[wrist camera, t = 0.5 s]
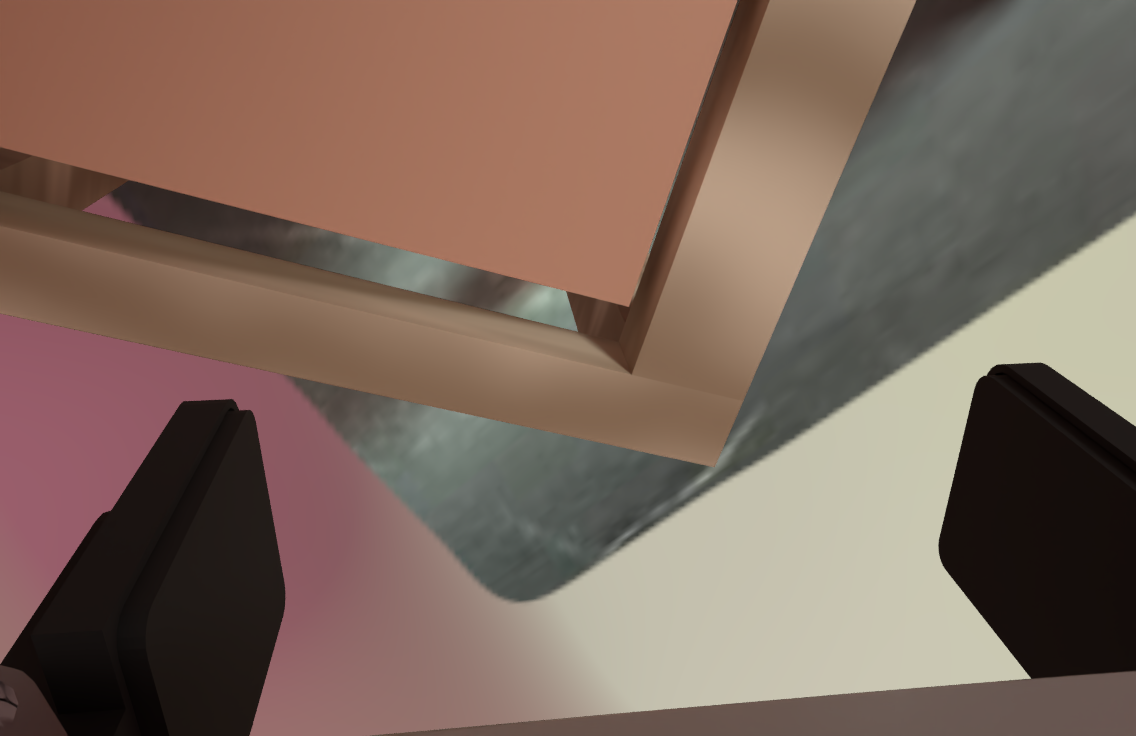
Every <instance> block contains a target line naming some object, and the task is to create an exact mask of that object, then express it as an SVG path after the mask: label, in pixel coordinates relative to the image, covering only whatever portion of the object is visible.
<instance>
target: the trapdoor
mask: <svg viewBox="0 0 1136 736" xmlns="http://www.w3.org/2000/svg"><path fill="white" fill-rule="evenodd" d="M736 3H737V0H0V147H2V148H6V149H10V150H14V151H18V152H21V153H25V154H29V155H33V156H37V157H41V158H45V159H49V160H53V161H57V162H61V163H65V164H69V165H73V166H77V167H80V168H84V169H88V170H92V171H96V172H100V173H104V174H108V175H112V176H116V177H120V178H124V179H128V180H132V181H136V182H139V183H143V184H147V185H151V186H155V187H159V188H163V189H167V190H171V191H175V192H179V193H183V194H187V195H191V196H195V197H198V198H202V199H206V200H210V201H214V202H218V203H222V204H226V205H230V206H234V207H238V208H242V209H246V210H250V211H254V212H258V213H261V214H265V215H269V216H273V217H277V218H281V219H285V220H289V221H293V222H297V223H301V224H305V225H309V226H313V227H317V228H320V229H324V230H328V231H332V232H336V233H340V234H344V235H348V236H352V237H356V238H360V239H364V240H368V241H372V242H376V243H379V244H383V245H387V246H391V247H395V248H399V249H403V250H407V251H411V252H415V253H419V254H423V255H427V256H431V257H435V258H438V259H442V260H446V261H450V262H454V263H458V264H462V265H466V266H470V267H474V268H478V269H482V270H486V271H490V272H494V273H498V274H501V275H505V276H509V277H513V278H517V279H521V280H525V281H529V282H533V283H537V284H541V285H545V286H549V287H553V288H557V289H560V290H564V291H568V292H572V293H576V294H580V295H584V296H588V297H592V298H596V299H600V300H604V301H608V302H612V303H616V304H619V305H623V306H627V307H629V305H630V302H631V299H632V296H633V294H634V291H635V288H636V285H637V282H638V279H639V277H640V274H641V271H642V268H643V265H644V263H645V260H646V257H647V254H648V251H649V248H650V246H651V243H652V240H653V237H654V234H655V231H656V229H657V226H658V223H659V220H660V217H661V215H662V212H663V209H664V206H665V203H666V200H667V198H668V195H669V192H670V189H671V186H672V184H673V181H674V178H675V175H676V172H677V169H678V167H679V164H680V161H681V158H682V155H683V153H684V150H685V147H686V144H687V141H688V138H689V136H690V133H691V130H692V127H693V124H694V122H695V119H696V116H697V113H698V110H699V107H700V105H701V102H702V99H703V96H704V93H705V90H706V88H707V85H708V82H709V79H710V76H711V74H712V71H713V68H714V65H715V62H716V59H717V57H718V54H719V51H720V48H721V45H722V43H723V40H724V37H725V34H726V31H727V28H728V26H729V23H730V20H731V17H732V14H733V12H734V9H735V6H736Z"/></svg>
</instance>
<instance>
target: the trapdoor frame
mask: <svg viewBox="0 0 1136 736" xmlns="http://www.w3.org/2000/svg"><path fill="white" fill-rule="evenodd" d="M915 2H916V0H740V2H739V5H738V8H737V10H736V13H735V16H734V19H733V22H732V24H731V27H730V30H729V33H728V36H727V39H726V41H725V44H724V47H723V50H722V53H721V55H720V58H719V61H718V64H717V67H716V69H715V72H714V75H713V78H712V81H711V84H710V86H709V89H708V92H707V95H706V98H705V100H704V103H703V106H702V109H701V112H700V114H699V117H698V120H697V123H696V126H695V128H694V131H693V134H692V137H691V140H690V143H689V145H688V148H687V151H686V154H685V157H684V159H683V162H682V165H681V168H680V171H679V173H678V176H677V179H676V182H675V185H674V188H673V190H672V193H671V196H670V199H669V202H668V204H667V207H666V210H665V213H664V216H663V218H662V221H661V224H660V227H659V230H658V232H657V235H656V238H655V241H654V244H653V247H652V249H651V252H650V254H649V253H648V254H647V257H646V260H645V263H644V265H643V268H642V271H641V274H640V277H639V279H638V282H637V285H636V288H635V291H634V294H633V296H632V299H631V302H630V305H629V307H627V306H623V305H619V304H616V303H612V302H608V301H604V300H600V299H596V298H592V297H588V296H584V295H580V294H576V293H572V292H568V291H566V292H567V296H568V299H569V302H570V306H571V309H572V312H573V315H574V319H575V322H576V325H577V329H578V332H576V331H572V330H568V329H564V328H560V327H555V326H551V325H547V324H543V323H539V322H535V321H531V320H527V319H523V318H519V317H514V316H510V315H506V314H502V313H498V312H494V311H490V310H486V309H482V308H478V307H473V306H469V305H465V304H461V303H457V302H453V301H449V300H445V299H441V298H437V297H432V296H428V295H424V294H420V293H416V292H412V291H408V290H404V289H400V288H396V287H391V286H387V285H383V284H379V283H375V282H371V281H367V280H363V279H359V278H354V277H350V276H346V275H342V274H338V273H334V272H330V271H326V270H322V269H318V268H313V267H309V266H305V265H301V264H297V263H293V262H289V261H285V260H281V259H277V258H272V257H268V256H264V255H260V254H256V253H252V252H248V251H244V250H240V249H236V248H231V247H227V246H223V245H219V244H215V243H211V242H207V241H203V240H199V239H195V238H190V237H186V236H182V235H178V234H174V233H170V232H166V231H162V230H158V229H154V228H149V227H145V226H141V225H137V224H133V223H129V222H125V221H121V220H116V219H112V218H108V217H104V216H100V215H96V214H92V213H88V212H84V211H82V210H83V209H85V208H86V207H88V206H90V205H91V204H92V203H94V202H96V201H97V200H99V199H100V198H102V197H104V196H105V195H107V194H108V193H110V192H111V191H113V190H115V189H116V188H118V187H119V186H121V185H122V184H124V183H125V182H127V181H128V179H124V178H120V177H116V176H112V175H108V174H104V173H100V172H96V171H92V170H88V169H84V168H80V167H77V166H73V165H69V164H65V163H61V162H57V161H53V160H49V159H45V158H41V157H37V156H33V155H29V154H25V153H21V152H18V151H14V150H10V149H6V148H2V147H0V314H5V315H9V316H14V317H19V318H23V319H28V320H32V321H37V322H42V323H46V324H51V325H56V326H60V327H65V328H70V329H74V330H79V331H84V332H89V333H93V334H97V335H102V336H107V337H112V338H116V339H121V340H125V341H130V342H135V343H139V344H144V345H149V346H154V347H158V348H163V349H168V350H172V351H177V352H181V353H186V354H191V355H195V356H200V357H205V358H209V359H214V360H218V361H223V362H228V363H233V364H237V365H242V366H246V367H251V368H256V369H260V370H265V371H270V372H274V373H279V374H284V375H288V376H293V377H298V378H302V379H307V380H311V381H316V382H321V383H325V384H330V385H335V386H339V387H344V388H349V389H353V390H358V391H363V392H367V393H372V394H377V395H381V396H386V397H391V398H395V399H400V400H405V401H409V402H414V403H418V404H423V405H428V406H432V407H437V408H442V409H446V410H451V411H456V412H460V413H465V414H470V415H474V416H479V417H484V418H488V419H493V420H498V421H502V422H507V423H512V424H516V425H521V426H525V427H530V428H535V429H539V430H544V431H549V432H553V433H558V434H563V435H567V436H572V437H577V438H581V439H586V440H591V441H595V442H600V443H605V444H609V445H614V446H619V447H623V448H628V449H632V450H637V451H642V452H646V453H651V454H656V455H660V456H665V457H670V458H674V459H679V460H684V461H688V462H693V463H698V464H702V465H707V466H712V467H715V465H716V463H717V460H718V458H719V456H720V453H721V451H722V449H723V446H724V444H725V442H726V440H727V437H728V435H729V433H730V430H731V428H732V426H733V423H734V421H735V419H736V416H737V414H738V412H739V409H740V407H741V405H742V403H743V400H744V398H745V396H746V393H747V391H748V389H749V386H750V384H751V382H752V379H753V377H754V375H755V372H756V370H757V368H758V366H759V363H760V361H761V359H762V356H763V354H764V352H765V349H766V347H767V345H768V342H769V340H770V338H771V335H772V333H773V331H774V329H775V326H776V324H777V322H778V319H779V317H780V315H781V312H782V310H783V308H784V305H785V303H786V301H787V298H788V296H789V294H790V292H791V289H792V287H793V285H794V282H795V280H796V278H797V275H798V273H799V271H800V268H801V266H802V264H803V261H804V259H805V257H806V255H807V252H808V250H809V248H810V245H811V243H812V241H813V238H814V236H815V234H816V231H817V229H818V227H819V224H820V222H821V220H822V217H823V215H824V213H825V211H826V208H827V206H828V204H829V201H830V199H831V197H832V194H833V192H834V190H835V187H836V185H837V183H838V180H839V178H840V176H841V174H842V171H843V169H844V167H845V164H846V162H847V160H848V157H849V155H850V153H851V150H852V148H853V146H854V143H855V141H856V139H857V137H858V134H859V132H860V130H861V127H862V125H863V123H864V120H865V118H866V116H867V113H868V111H869V109H870V106H871V104H872V102H873V100H874V97H875V95H876V93H877V90H878V88H879V86H880V83H881V81H882V79H883V76H884V74H885V72H886V69H887V67H888V65H889V63H890V60H891V58H892V56H893V53H894V51H895V49H896V46H897V44H898V42H899V39H900V37H901V35H902V32H903V30H904V28H905V26H906V23H907V21H908V19H909V16H910V14H911V12H912V9H913V7H914V5H915Z"/></svg>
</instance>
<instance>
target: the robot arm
mask: <svg viewBox="0 0 1136 736" xmlns="http://www.w3.org/2000/svg"><path fill="white" fill-rule="evenodd" d="M939 555H940V559H941V562H942V564H943V566H944V568H945V569H946V571H947V572H948V573H949V575H950V576H951V577H952V578H953V580H954V581H955V582H956V584H957V585H958V586H959V587H960V588H961V590H962V591H963V592H964V594H965V595H966V596H967V597H968V599H969V600H970V601H971V603H972V604H973V605H974V606H975V607H976V609H977V610H978V611H979V613H980V614H981V615H982V616H983V618H984V619H985V620H986V622H987V623H988V624H989V625H990V627H991V628H992V629H993V630H994V632H995V633H996V634H997V636H998V637H999V638H1000V639H1001V641H1002V642H1003V643H1004V644H1005V646H1006V647H1007V648H1008V650H1009V651H1010V652H1011V653H1012V655H1013V656H1014V657H1015V658H1016V660H1017V661H1018V662H1019V664H1020V665H1021V666H1022V667H1023V669H1024V670H1025V671H1026V672H1027V674H1028V675H1029V676H1030V677H1031V679H1022V680H1009V681H998V682H985V683H972V684H960V685H948V686H936V687H924V688H912V689H899V690H887V691H875V692H863V693H851V694H839V695H828V696H817V697H804V698H793V699H781V700H770V701H758V702H746V703H735V704H723V705H712V706H700V707H688V708H677V709H665V710H654V711H641V712H630V713H619V714H607V715H595V716H584V717H574V718H563V719H553V720H541V721H529V722H518V723H507V724H496V725H485V726H473V727H462V728H451V729H440V730H430V731H429V730H428V731H417V732H406V733H395V734H384V735H372V736H1136V426H1134V425H1132V424H1131V423H1130V422H1128V421H1127V420H1125V419H1124V418H1123V417H1121V416H1120V415H1118V414H1117V413H1115V412H1114V411H1112V410H1111V409H1109V408H1108V407H1107V406H1105V405H1104V404H1102V403H1101V402H1100V401H1098V400H1097V399H1095V398H1094V397H1092V396H1091V395H1089V394H1088V393H1087V392H1085V391H1084V390H1082V389H1081V388H1079V387H1078V386H1076V385H1075V384H1074V383H1072V382H1071V381H1069V380H1068V379H1066V378H1065V377H1064V376H1062V375H1061V374H1059V373H1058V372H1056V371H1055V370H1053V369H1052V368H1051V367H1049V366H1048V365H1045V364H1043V363H1023V364H1001V365H996V366H994V367H993V368H991V370H990V371H989V372H988V374H987V376H983V377H981V378H980V379H979V380H978V382H977V384H976V386H975V389H974V393H973V398H972V402H971V406H970V410H969V415H968V419H967V423H966V427H965V432H964V436H963V440H962V444H961V449H960V453H959V458H958V462H957V466H956V470H955V474H954V478H953V483H952V487H951V491H950V495H949V500H948V504H947V508H946V512H945V517H944V521H943V525H942V529H941V534H940V538H939ZM284 608H285V584H284V578H283V573H282V567H281V561H280V556H279V550H278V545H277V539H276V533H275V527H274V522H273V516H272V511H271V505H270V499H269V494H268V488H267V483H266V477H265V471H264V466H263V461H262V454H261V449H260V443H259V438H258V432H257V427H256V421H255V417H254V415H253V413H252V411H251V410H240V411H239V409H238V407H237V405H236V402H235V401H234V400H232V399H228V400H206V401H184V402H183V403H181V404H180V406H179V407H178V409H177V410H176V412H175V414H174V415H173V416H172V418H171V419H170V421H169V422H168V424H167V426H166V427H165V429H164V430H163V432H162V433H161V435H160V437H159V438H158V439H157V441H156V442H155V444H154V446H153V447H152V449H151V450H150V452H149V453H148V455H147V456H146V458H145V460H144V461H143V463H142V464H141V466H140V467H139V469H138V470H137V472H136V473H135V475H134V477H133V478H132V480H131V481H130V482H129V484H128V486H127V487H126V489H125V490H124V492H123V493H122V495H121V496H120V498H119V500H118V501H117V503H116V504H115V506H114V507H113V509H112V510H111V511H108V512H105V513H103V514H102V515H101V516H100V517H99V518H98V519H97V520H96V521H95V523H94V524H93V526H92V527H91V529H90V531H89V532H88V533H87V535H86V536H85V538H84V539H83V541H82V543H81V544H80V545H79V547H78V548H77V550H76V551H75V553H74V555H73V556H72V557H71V559H70V560H69V562H68V564H67V565H66V566H65V568H64V569H63V571H62V572H61V574H60V575H59V577H58V578H57V580H56V582H55V583H54V585H53V586H52V588H51V589H50V591H49V592H48V594H47V595H46V597H45V598H44V600H43V601H42V603H41V604H40V606H39V607H38V609H37V610H36V612H35V613H34V615H33V616H32V618H31V619H30V621H29V622H28V624H27V625H26V627H25V628H24V630H23V631H22V633H21V634H20V636H19V637H18V639H17V640H16V642H15V643H14V645H13V646H12V648H11V649H10V651H9V652H8V654H7V655H6V657H5V658H4V660H3V661H2V663H1V664H0V736H249V735H250V732H251V728H252V725H253V721H254V717H255V714H256V711H257V707H258V703H259V699H260V696H261V693H262V689H263V686H264V682H265V679H266V675H267V671H268V668H269V664H270V661H271V657H272V653H273V650H274V647H275V643H276V639H277V636H278V632H279V629H280V625H281V622H282V618H283V614H284Z"/></svg>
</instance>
